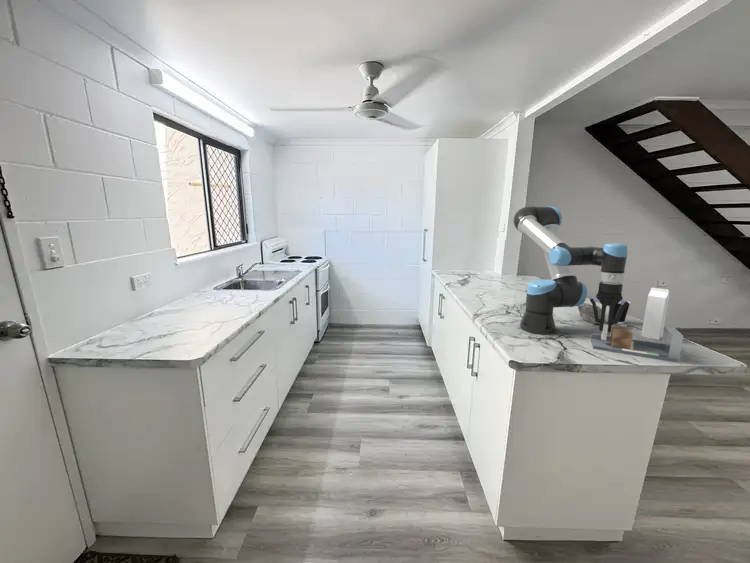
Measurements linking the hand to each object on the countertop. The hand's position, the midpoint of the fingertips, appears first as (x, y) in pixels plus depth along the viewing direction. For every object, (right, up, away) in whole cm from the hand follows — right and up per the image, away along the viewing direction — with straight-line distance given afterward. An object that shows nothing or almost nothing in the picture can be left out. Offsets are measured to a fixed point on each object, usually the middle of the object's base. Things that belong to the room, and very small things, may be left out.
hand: (603, 339), depth 130 cm
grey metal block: (+18, -4, -9) cm, 21 cm away
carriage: (+5, -2, -2) cm, 6 cm away
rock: (+17, +3, +33) cm, 37 cm away
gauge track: (+8, -4, -3) cm, 10 cm away
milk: (+29, -1, +11) cm, 31 cm away
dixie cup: (+29, +3, +30) cm, 42 cm away
